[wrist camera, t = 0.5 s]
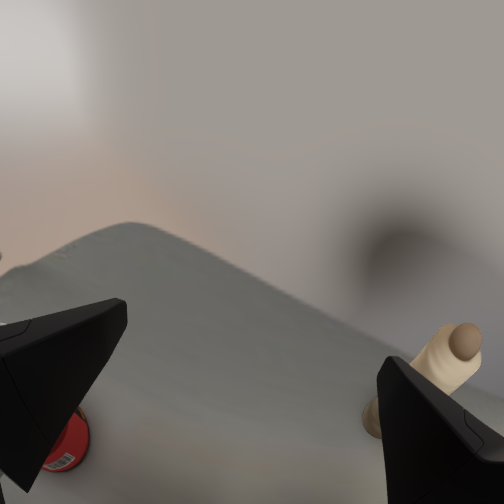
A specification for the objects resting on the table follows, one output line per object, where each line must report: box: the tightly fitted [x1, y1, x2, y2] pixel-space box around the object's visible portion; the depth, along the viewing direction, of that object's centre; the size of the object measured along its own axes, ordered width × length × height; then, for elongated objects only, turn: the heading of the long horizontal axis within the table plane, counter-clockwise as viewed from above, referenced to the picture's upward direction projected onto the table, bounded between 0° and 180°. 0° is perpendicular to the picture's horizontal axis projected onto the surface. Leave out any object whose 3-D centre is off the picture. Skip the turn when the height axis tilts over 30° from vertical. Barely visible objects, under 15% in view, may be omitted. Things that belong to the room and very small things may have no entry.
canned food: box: [0, 323, 89, 472], centre depth 12 cm, size 8×8×11 cm
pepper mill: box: [363, 323, 482, 439], centre depth 17 cm, size 4×4×14 cm
